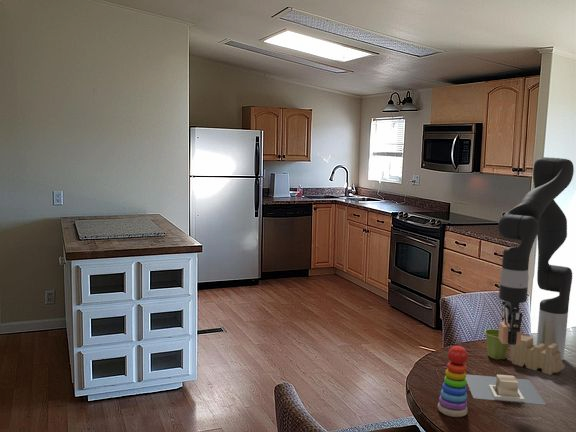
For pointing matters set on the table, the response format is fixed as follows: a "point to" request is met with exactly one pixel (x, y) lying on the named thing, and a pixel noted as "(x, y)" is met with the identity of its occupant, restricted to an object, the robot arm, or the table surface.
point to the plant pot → (495, 345)
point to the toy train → (537, 356)
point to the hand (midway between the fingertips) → (509, 340)
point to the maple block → (506, 385)
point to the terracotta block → (504, 333)
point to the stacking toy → (454, 385)
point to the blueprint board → (486, 390)
